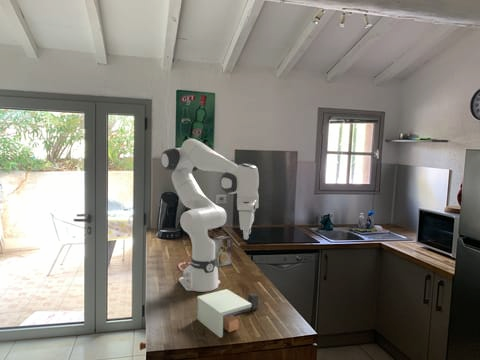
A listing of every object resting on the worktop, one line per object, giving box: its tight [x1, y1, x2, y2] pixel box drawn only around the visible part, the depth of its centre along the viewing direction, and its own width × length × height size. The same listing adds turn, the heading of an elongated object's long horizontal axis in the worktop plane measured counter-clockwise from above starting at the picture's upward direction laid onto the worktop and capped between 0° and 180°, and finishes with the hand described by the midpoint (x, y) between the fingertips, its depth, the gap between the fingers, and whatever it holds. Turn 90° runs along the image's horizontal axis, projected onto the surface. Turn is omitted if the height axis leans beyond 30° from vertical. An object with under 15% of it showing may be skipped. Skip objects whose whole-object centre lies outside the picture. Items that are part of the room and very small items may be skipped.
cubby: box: [196, 288, 252, 339], centre depth 139 cm, size 17×14×9 cm
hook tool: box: [223, 292, 259, 320], centre depth 146 cm, size 8×18×6 cm, turn 126°
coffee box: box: [212, 235, 232, 268], centre depth 210 cm, size 9×6×16 cm
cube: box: [223, 315, 239, 333], centre depth 135 cm, size 4×4×4 cm
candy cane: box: [177, 261, 191, 273], centre depth 203 cm, size 8×1×15 cm
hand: (247, 236), depth 149 cm, fingers open, 8 cm apart
